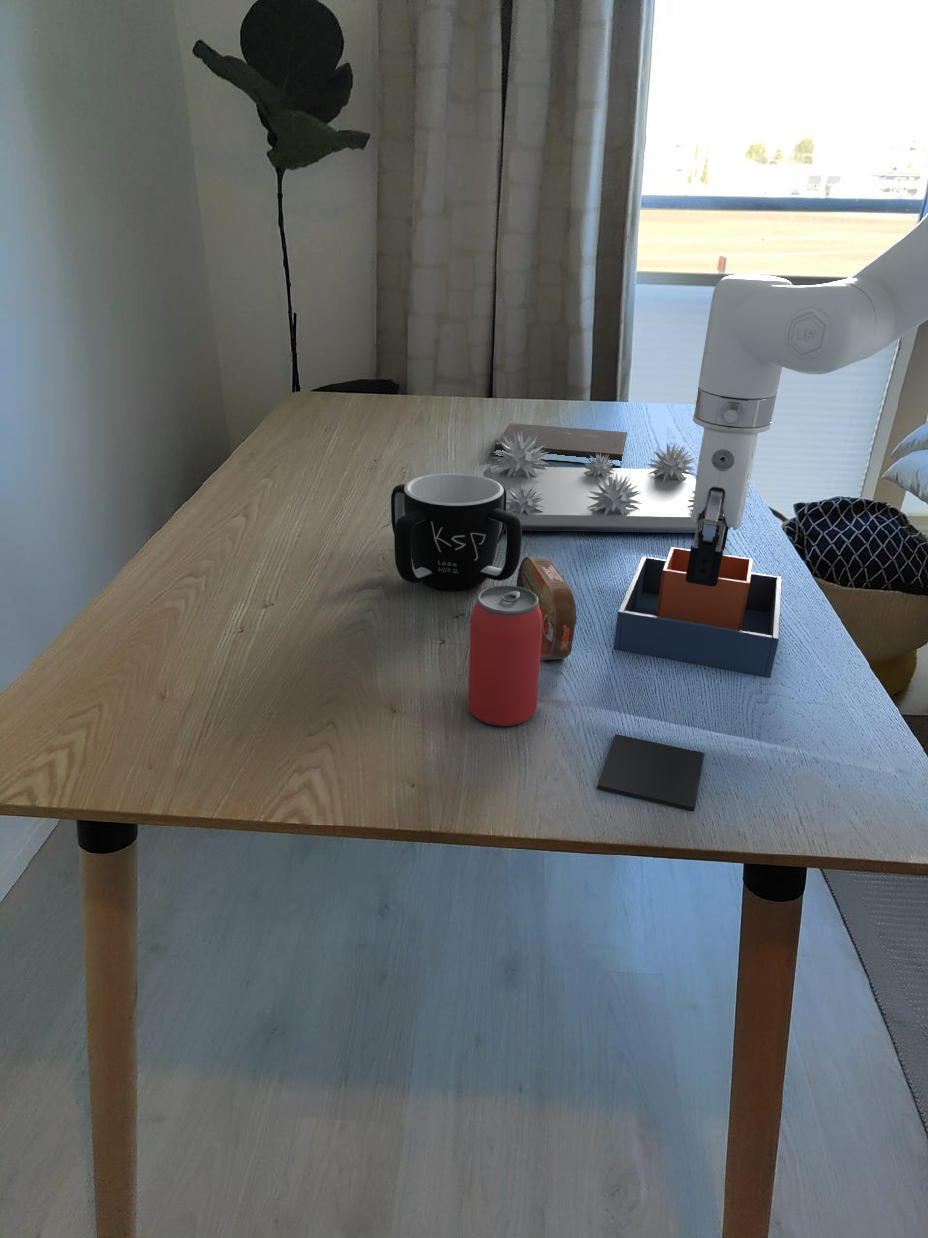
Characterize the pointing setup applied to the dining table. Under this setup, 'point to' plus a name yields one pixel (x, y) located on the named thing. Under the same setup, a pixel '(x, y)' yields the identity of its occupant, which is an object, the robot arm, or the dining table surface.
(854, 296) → the robot arm
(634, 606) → the box
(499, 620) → the beer can
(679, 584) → the small bin
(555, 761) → the dining table surface
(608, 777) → the mat
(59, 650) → the dining table surface
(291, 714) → the dining table surface
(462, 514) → the mug
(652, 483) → the decorative tray
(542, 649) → the tin
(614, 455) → the hardcover book
